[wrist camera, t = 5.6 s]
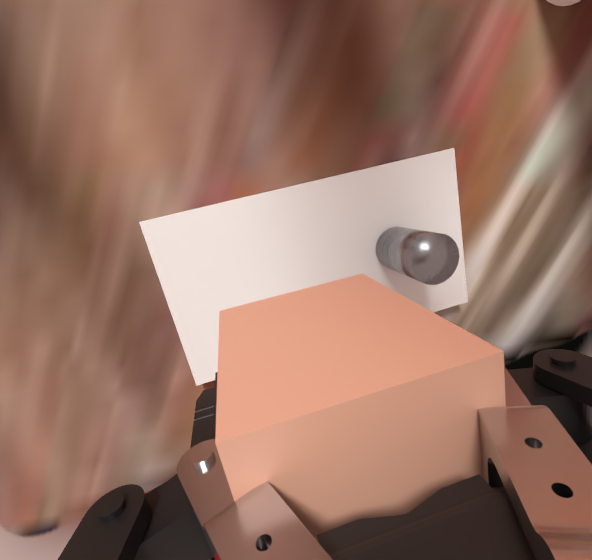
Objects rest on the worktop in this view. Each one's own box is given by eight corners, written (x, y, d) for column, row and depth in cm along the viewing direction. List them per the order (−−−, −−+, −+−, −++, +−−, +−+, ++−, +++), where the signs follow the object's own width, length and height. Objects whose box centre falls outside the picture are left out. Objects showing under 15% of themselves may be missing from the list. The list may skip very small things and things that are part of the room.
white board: (197, 375, 28) (196, 385, 27) (144, 220, 24) (139, 222, 23) (456, 297, 31) (467, 301, 30) (442, 150, 28) (454, 147, 26)
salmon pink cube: (255, 435, 14) (285, 654, 7) (219, 310, 12) (215, 443, 6) (381, 395, 15) (511, 559, 8) (362, 273, 13) (503, 351, 7)
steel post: (379, 273, 28) (415, 290, 22) (372, 232, 27) (408, 240, 21) (417, 262, 28) (461, 277, 23) (411, 221, 27) (456, 227, 22)
